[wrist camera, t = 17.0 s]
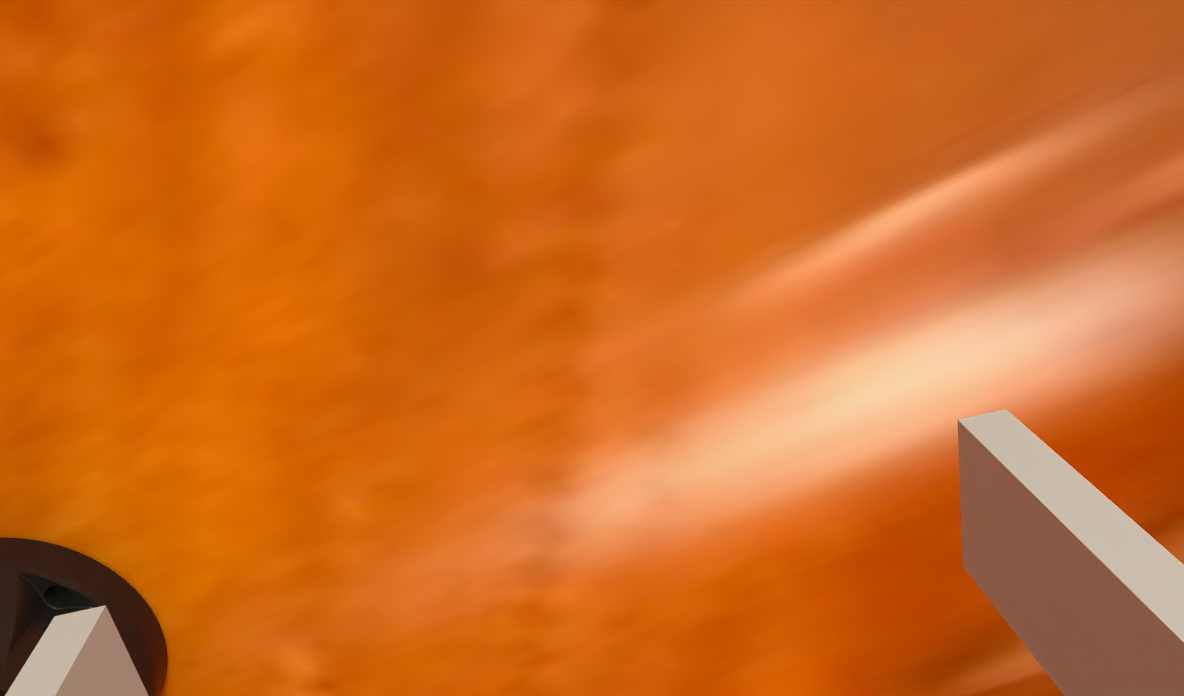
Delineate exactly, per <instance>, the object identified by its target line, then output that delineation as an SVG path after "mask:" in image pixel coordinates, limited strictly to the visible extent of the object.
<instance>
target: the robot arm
mask: <svg viewBox="0 0 1184 696" xmlns="http://www.w3.org/2000/svg"><path fill="white" fill-rule="evenodd" d="M958 441H959V468H960V496H961V523H962V551H963V567H964V568H965V569H966V571H967V572H968V573H969V575H970V576H971V577H972V578H973V580H974V581H975V582H976V583H977V585H978V586H979V587H980V589H981V590H982V591H983V592H984V594H985V595H986V596H987V597H988V599H989V600H990V601H991V603H992V604H993V605H994V606H995V608H996V609H997V610H998V612H999V613H1000V614H1001V615H1002V617H1003V618H1004V619H1005V620H1006V622H1007V623H1008V624H1009V626H1010V627H1011V628H1012V629H1013V631H1014V632H1015V633H1016V634H1017V636H1018V637H1019V638H1020V640H1021V641H1022V642H1023V643H1024V645H1025V646H1026V647H1027V649H1028V650H1029V651H1030V652H1031V654H1032V655H1033V656H1034V657H1035V659H1036V660H1037V661H1038V663H1039V664H1040V665H1041V666H1042V668H1043V669H1044V670H1045V671H1046V673H1047V674H1048V675H1049V677H1050V678H1051V679H1052V680H1053V682H1054V683H1055V684H1056V686H1057V687H1058V688H1059V689H1060V691H1061V692H1062V693H1063V694H1064V696H1184V565H1183V564H1182V563H1181V562H1180V561H1179V560H1178V559H1176V558H1175V557H1174V556H1173V555H1172V554H1171V553H1170V552H1168V551H1167V550H1166V549H1165V548H1164V547H1163V546H1162V545H1160V544H1159V543H1158V542H1157V541H1156V540H1155V539H1154V538H1152V537H1151V536H1150V535H1149V534H1148V533H1147V532H1146V531H1144V530H1143V529H1142V528H1141V527H1140V526H1139V525H1138V524H1136V523H1135V522H1134V521H1133V520H1132V519H1131V518H1130V517H1128V516H1127V515H1126V514H1125V513H1124V512H1123V511H1122V510H1120V509H1119V508H1118V507H1117V506H1116V505H1115V504H1114V503H1112V502H1111V501H1110V500H1109V499H1108V498H1107V497H1106V496H1104V495H1103V494H1102V493H1101V492H1100V491H1099V490H1098V489H1097V488H1095V487H1094V486H1093V485H1092V484H1091V483H1090V482H1089V481H1087V480H1086V479H1085V478H1084V477H1083V476H1082V475H1081V474H1079V473H1078V472H1077V471H1076V470H1075V469H1074V468H1073V467H1071V466H1070V465H1069V464H1068V463H1067V462H1066V461H1065V460H1063V459H1062V458H1061V457H1060V456H1059V455H1058V454H1057V453H1055V452H1054V451H1053V450H1052V449H1051V448H1050V447H1049V446H1047V445H1046V444H1045V443H1044V442H1043V441H1042V440H1041V439H1039V438H1038V437H1037V436H1036V435H1035V434H1034V433H1033V432H1031V431H1030V430H1029V429H1028V428H1027V427H1026V426H1025V425H1023V424H1022V423H1021V422H1020V421H1019V420H1018V419H1017V418H1015V417H1014V416H1013V415H1012V414H1011V413H1010V412H1009V411H1007V410H1006V409H1005V410H1000V411H996V412H991V413H986V414H982V415H977V416H973V417H968V418H964V419H959V420H958ZM166 670H167V651H166V645H165V640H164V636H163V633H162V630H161V628H160V625H159V623H158V621H157V619H156V617H155V615H154V614H153V612H152V610H151V609H150V607H149V606H148V604H147V603H146V602H145V600H144V599H143V598H142V597H141V595H140V594H139V593H138V592H137V591H136V590H135V589H134V588H133V587H132V586H131V585H130V584H129V583H128V582H126V581H125V580H124V579H123V578H122V577H120V576H119V575H118V574H116V573H115V572H114V571H112V570H111V569H109V568H108V567H106V566H104V565H103V564H101V563H99V562H97V561H96V560H94V559H92V558H90V557H88V556H85V555H83V554H81V553H79V552H76V551H73V550H71V549H68V548H65V547H62V546H58V545H55V544H51V543H47V542H42V541H36V540H29V539H20V538H0V696H159V694H160V692H161V690H162V687H163V684H164V681H165V676H166Z"/></svg>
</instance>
